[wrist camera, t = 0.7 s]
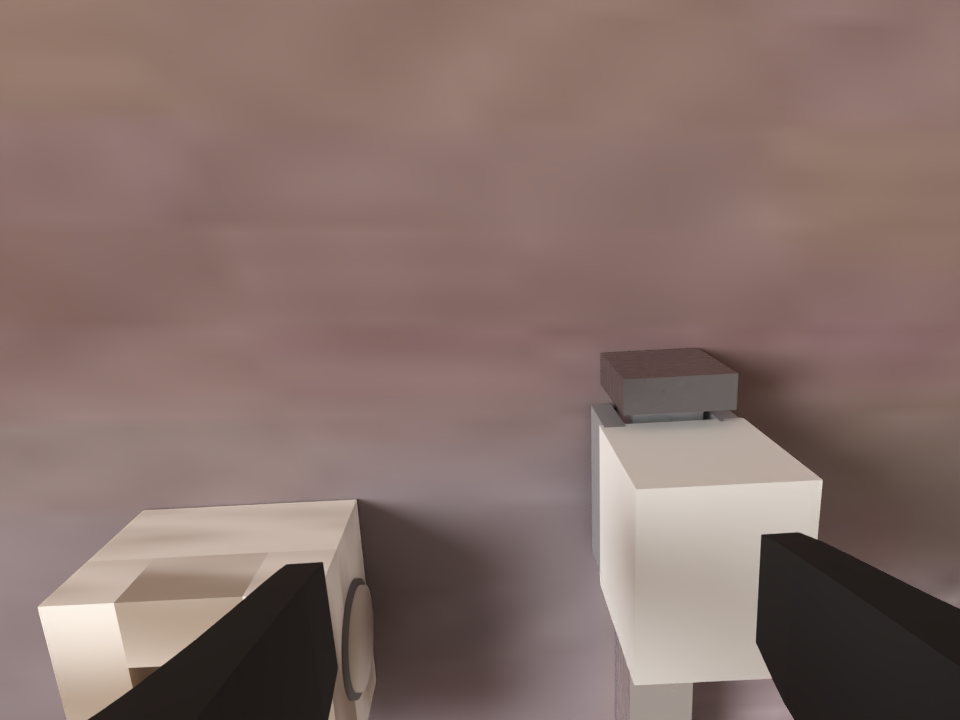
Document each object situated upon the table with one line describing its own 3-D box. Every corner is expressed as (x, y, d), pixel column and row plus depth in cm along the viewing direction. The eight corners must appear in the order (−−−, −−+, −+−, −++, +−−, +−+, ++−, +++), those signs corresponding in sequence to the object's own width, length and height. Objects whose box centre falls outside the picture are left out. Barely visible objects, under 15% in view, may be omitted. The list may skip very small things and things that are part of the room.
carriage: (711, 544, 20) (805, 677, 14) (589, 550, 20) (634, 685, 14) (718, 398, 19) (823, 479, 13) (587, 404, 19) (636, 489, 13)
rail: (682, 767, 23) (713, 849, 20) (602, 771, 23) (620, 853, 20) (697, 347, 19) (738, 373, 16) (600, 352, 19) (623, 379, 16)
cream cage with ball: (384, 679, 22) (358, 815, 17) (179, 689, 22) (94, 828, 17) (365, 498, 20) (330, 592, 15) (143, 510, 20) (37, 607, 15)
